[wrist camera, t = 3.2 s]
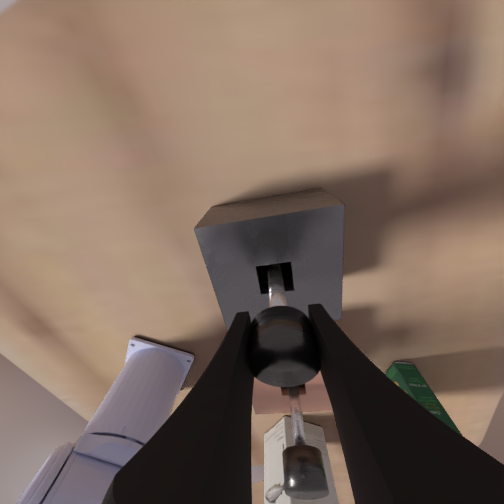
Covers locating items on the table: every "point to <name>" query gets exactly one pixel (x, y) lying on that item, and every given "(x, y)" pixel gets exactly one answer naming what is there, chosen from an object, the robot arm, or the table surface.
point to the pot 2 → (278, 397)
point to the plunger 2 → (302, 459)
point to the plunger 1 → (282, 340)
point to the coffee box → (418, 389)
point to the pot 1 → (275, 251)
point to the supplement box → (273, 462)
